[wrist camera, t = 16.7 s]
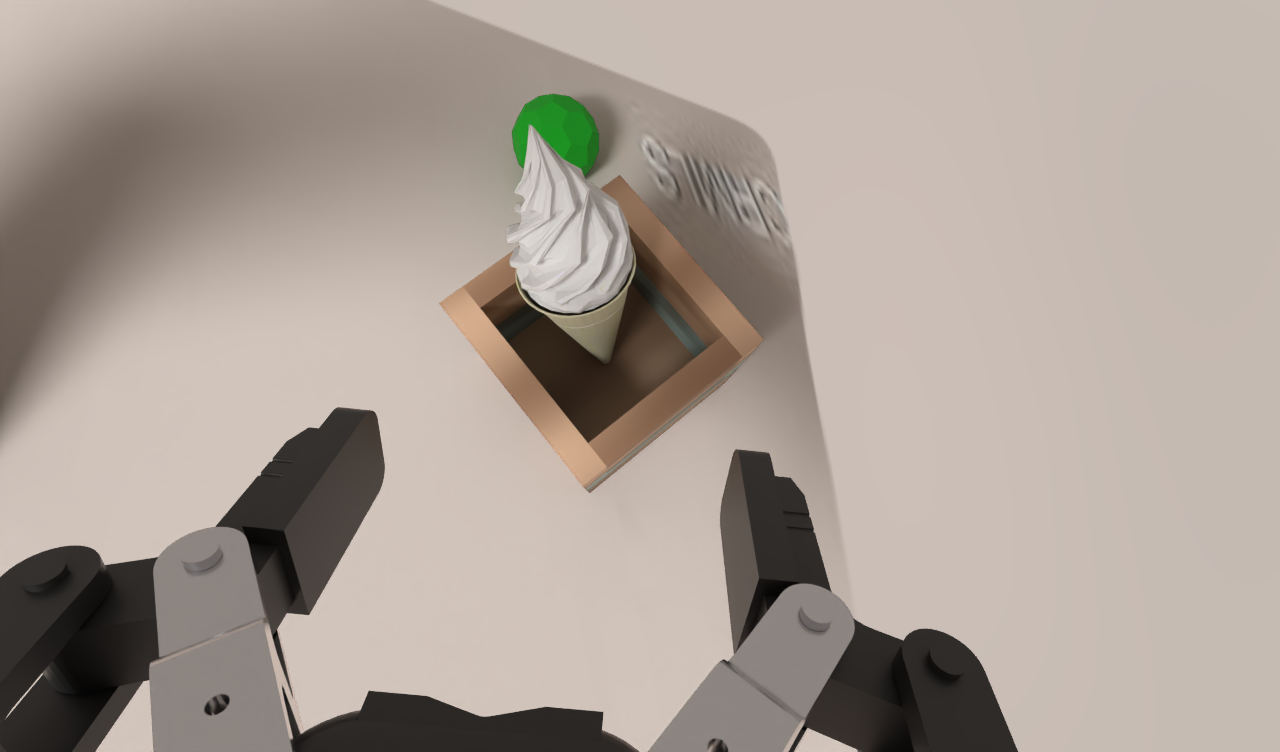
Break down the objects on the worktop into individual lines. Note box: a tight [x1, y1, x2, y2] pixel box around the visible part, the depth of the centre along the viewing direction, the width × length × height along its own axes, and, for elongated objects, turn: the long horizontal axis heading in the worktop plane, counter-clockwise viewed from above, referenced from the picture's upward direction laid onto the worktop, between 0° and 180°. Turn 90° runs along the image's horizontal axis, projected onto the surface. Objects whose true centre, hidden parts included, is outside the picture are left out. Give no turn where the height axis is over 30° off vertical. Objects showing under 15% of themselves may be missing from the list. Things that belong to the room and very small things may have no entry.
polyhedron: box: [512, 94, 599, 176], centre depth 36 cm, size 5×5×5 cm
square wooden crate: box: [439, 175, 764, 493], centre depth 31 cm, size 10×10×9 cm
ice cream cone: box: [506, 125, 636, 364], centre depth 25 cm, size 5×5×15 cm
